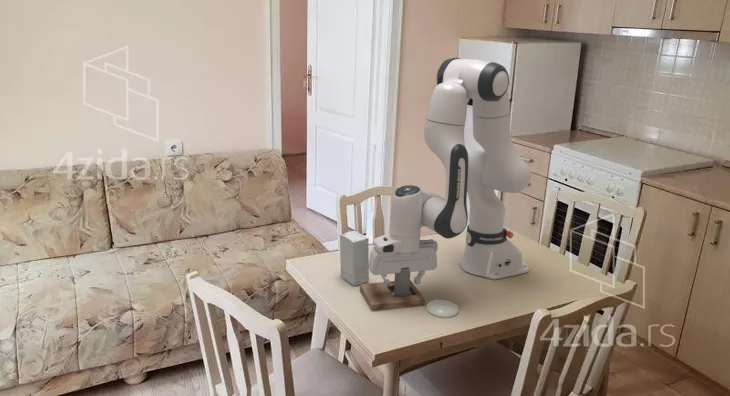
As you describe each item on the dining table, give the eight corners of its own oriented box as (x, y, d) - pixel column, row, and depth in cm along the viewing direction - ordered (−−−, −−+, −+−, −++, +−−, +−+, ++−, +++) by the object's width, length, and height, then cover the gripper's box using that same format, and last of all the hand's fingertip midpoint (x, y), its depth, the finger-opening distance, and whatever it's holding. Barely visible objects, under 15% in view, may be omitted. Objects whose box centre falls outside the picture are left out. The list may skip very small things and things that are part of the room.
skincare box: (369, 282, 185) (370, 238, 181) (352, 286, 182) (354, 242, 178) (354, 272, 192) (355, 229, 187) (338, 276, 189) (339, 232, 184)
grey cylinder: (398, 301, 174) (400, 269, 171) (390, 294, 178) (392, 263, 175) (411, 298, 176) (413, 266, 173) (403, 292, 180) (405, 260, 177)
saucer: (450, 300, 176) (450, 298, 176) (463, 316, 168) (463, 313, 167) (421, 303, 173) (422, 301, 173) (433, 319, 165) (433, 316, 165)
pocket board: (409, 285, 185) (410, 279, 184) (424, 305, 173) (425, 299, 172) (359, 290, 180) (360, 284, 180) (371, 311, 168) (372, 304, 168)
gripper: (434, 234, 177) (430, 276, 182) (368, 239, 172) (366, 283, 176) (442, 242, 171) (438, 286, 176) (374, 248, 166) (372, 292, 170)
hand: (402, 284), depth 176 cm, fingers open, 8 cm apart
